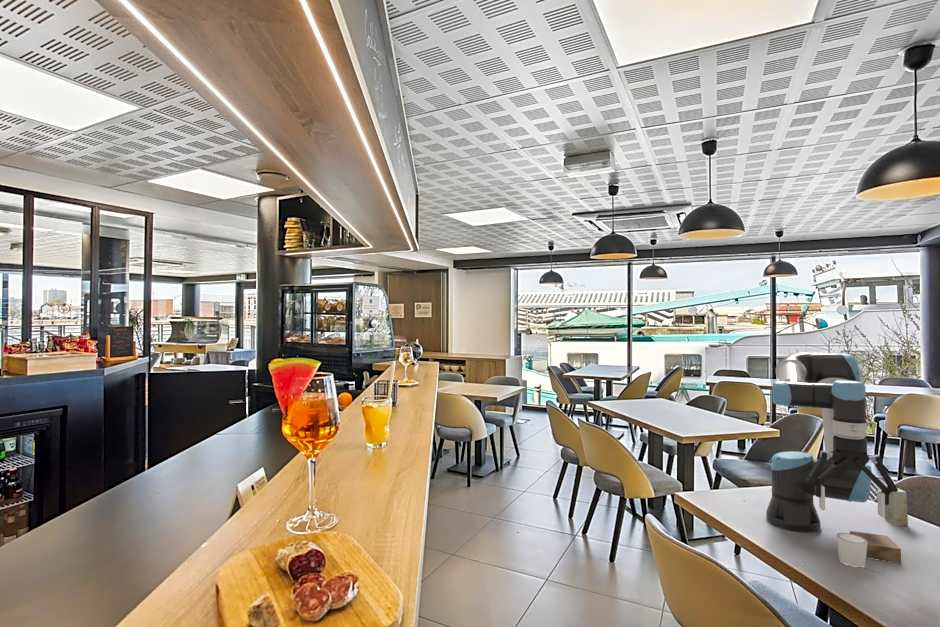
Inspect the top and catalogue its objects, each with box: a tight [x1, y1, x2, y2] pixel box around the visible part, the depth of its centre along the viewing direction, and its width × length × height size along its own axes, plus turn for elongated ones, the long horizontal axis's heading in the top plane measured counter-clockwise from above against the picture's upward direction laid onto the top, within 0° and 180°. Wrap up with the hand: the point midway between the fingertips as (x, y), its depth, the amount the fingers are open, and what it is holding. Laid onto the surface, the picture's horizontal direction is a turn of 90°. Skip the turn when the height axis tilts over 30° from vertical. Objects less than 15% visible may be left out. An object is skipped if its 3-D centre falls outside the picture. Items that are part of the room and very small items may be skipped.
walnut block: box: [849, 530, 902, 564], centre depth 140 cm, size 9×9×4 cm
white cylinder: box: [836, 532, 867, 567], centre depth 135 cm, size 7×7×7 cm
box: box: [883, 487, 909, 527], centre depth 161 cm, size 5×4×11 cm
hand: (851, 512), depth 135 cm, fingers open, 13 cm apart
